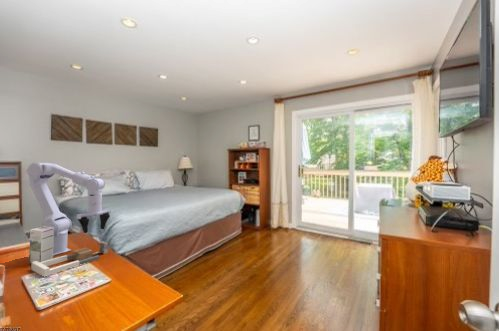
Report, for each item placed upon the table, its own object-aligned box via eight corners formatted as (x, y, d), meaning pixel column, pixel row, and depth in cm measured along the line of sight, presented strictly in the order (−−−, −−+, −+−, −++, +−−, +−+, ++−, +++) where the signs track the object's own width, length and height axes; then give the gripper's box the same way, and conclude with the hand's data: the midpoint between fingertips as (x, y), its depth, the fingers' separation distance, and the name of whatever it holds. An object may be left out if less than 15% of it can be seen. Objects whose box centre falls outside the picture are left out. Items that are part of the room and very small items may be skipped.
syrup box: (53, 258, 101) (54, 226, 101) (40, 264, 95) (41, 230, 95) (42, 257, 101) (43, 225, 101) (28, 263, 95) (29, 229, 95)
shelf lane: (31, 269, 90) (31, 262, 90) (65, 259, 100) (65, 252, 100) (44, 277, 84) (44, 269, 84) (79, 265, 94) (79, 258, 94)
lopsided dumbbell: (72, 259, 100) (73, 248, 100) (101, 250, 111) (102, 240, 111) (79, 263, 97) (80, 251, 97) (108, 253, 108) (109, 243, 108)
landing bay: (65, 259, 100) (65, 256, 100) (85, 253, 107) (85, 250, 107) (79, 265, 94) (79, 262, 94) (99, 259, 101) (99, 255, 101)
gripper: (82, 206, 101) (81, 236, 101) (114, 201, 114) (113, 228, 114) (74, 204, 104) (73, 233, 104) (106, 200, 117) (105, 226, 117)
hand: (94, 230), depth 109 cm, fingers open, 7 cm apart
